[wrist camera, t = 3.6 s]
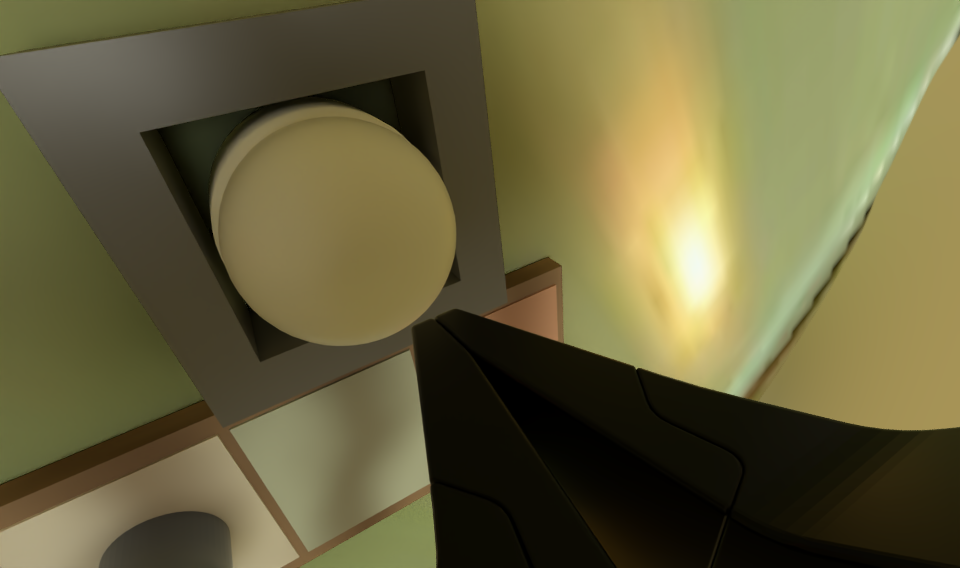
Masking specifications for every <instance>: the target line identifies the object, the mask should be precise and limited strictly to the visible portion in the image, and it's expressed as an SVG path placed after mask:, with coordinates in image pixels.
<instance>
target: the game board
mask: <svg viewBox="0 0 960 568" xmlns="http://www.w3.org/2000/svg"><path fill="white" fill-rule="evenodd" d="M505 281H506V290H507V300H508V302H507V303H505V304H503V305H501V306H498V307H496V308H494V309H492V310H489V311H487V312H485V313H482V314H480V315H479V316H482V317H485V318H488V319H491V320H494V321H497V322H500V323H503V324H506V325H510V326H513V327H516V328H519V329H522V330H525V331H528V332H531V333H534V334H537V335H540V336H543V337H546V338H549V339H552V340H556V341H559V342H562V343H564V339H563V300H562V266H561V265H559V264H558V263H556V262H555V261H553V260H552V259H550V258H549V257H547V258H545V259H543V260H540V261H538V262H535V263H533V264H531V265H528V266H526V267H523V268H521V269H519V270H516V271H514V272H511V273H509V274H507V275H505ZM430 486H431V485H430V481H429V473H428V465H427V457H426V448H425V440H424V432H423V424H422V415H421V407H420V399H419V391H418V383H417V374H416V366H415V358H414V350H413V344H412V345H410V346H408V347H405V348H403V349H401V350H399V351H396V352H394V353H392V354H390V355H387V356H385V357H383V358H381V359H378V360H376V361H374V362H371V363H369V364H367V365H365V366H362V367H360V368H358V369H356V370H353V371H351V372H349V373H347V374H344V375H342V376H340V377H337V378H335V379H333V380H331V381H328V382H326V383H324V384H322V385H319V386H317V387H315V388H313V389H310V390H308V391H306V392H303V393H301V394H299V395H297V396H294V397H292V398H290V399H288V400H285V401H283V402H281V403H279V404H276V405H274V406H272V407H269V408H267V409H265V410H263V411H260V412H258V413H256V414H254V415H251V416H249V417H247V418H245V419H242V420H240V421H238V422H236V423H233V424H231V425H229V426H226V427H224V428H223V427H222V426H221V424H220V423H219V421H218V420H217V418H216V417H215V415H214V414H213V412H212V411H211V409H210V408H209V406H208V405H207V403H206V402H205V400H204V401H201V402H199V403H197V404H194V405H192V406H189V407H187V408H185V409H182V410H180V411H177V412H175V413H173V414H170V415H168V416H165V417H163V418H161V419H158V420H156V421H153V422H151V423H149V424H146V425H144V426H141V427H139V428H136V429H134V430H132V431H129V432H127V433H124V434H122V435H120V436H117V437H115V438H112V439H110V440H108V441H105V442H103V443H100V444H98V445H96V446H93V447H91V448H88V449H86V450H84V451H81V452H79V453H76V454H74V455H72V456H69V457H67V458H64V459H62V460H60V461H57V462H55V463H52V464H50V465H48V466H45V467H43V468H40V469H38V470H36V471H33V472H31V473H28V474H26V475H24V476H21V477H19V478H16V479H14V480H12V481H9V482H7V483H4V484H2V485H0V568H99V563H100V560H101V558H102V556H103V554H104V552H105V551H106V549H107V548H108V547H109V546H110V545H111V543H113V542H114V541H115V540H116V539H117V538H118V537H119V536H121V535H122V534H123V533H125V532H126V531H128V530H129V529H131V528H132V527H134V526H136V525H138V524H140V523H142V522H145V521H147V520H149V519H152V518H155V517H158V516H162V515H165V514H170V513H175V512H183V511H197V512H205V513H209V514H212V515H215V516H217V517H219V518H220V519H222V520H223V521H224V522H225V523H226V524H227V526H228V528H229V531H230V537H231V549H232V561H233V568H299V567H300V566H302V565H304V564H306V563H307V562H309V561H311V560H313V559H314V558H316V557H318V556H320V555H321V554H323V553H325V552H327V551H328V550H330V549H332V548H334V547H335V546H337V545H339V544H341V543H342V542H344V541H346V540H348V539H349V538H351V537H353V536H355V535H356V534H358V533H360V532H362V531H363V530H365V529H367V528H369V527H370V526H372V525H374V524H376V523H377V522H379V521H381V520H383V519H384V518H386V517H388V516H390V515H391V514H393V513H395V512H397V511H398V510H400V509H402V508H404V507H405V506H407V505H409V504H411V503H412V502H414V501H416V500H418V499H419V498H421V497H423V496H425V495H426V494H428V493H430Z"/></svg>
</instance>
